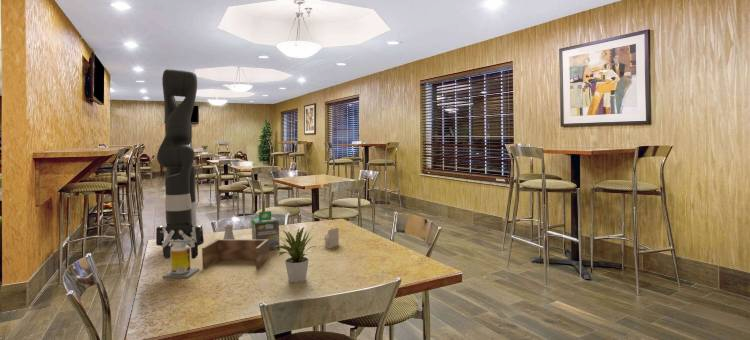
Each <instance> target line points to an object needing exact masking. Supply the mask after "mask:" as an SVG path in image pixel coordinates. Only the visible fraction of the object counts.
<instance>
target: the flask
mask: <svg viewBox="0 0 750 340" xmlns="http://www.w3.org/2000/svg"><path fill="white" fill-rule="evenodd" d="M233 226H234V225H233V224H225V225H223V228H224V235H223V239H222V240H236V237H235V234H234V231H233Z"/></svg>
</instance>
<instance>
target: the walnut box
mask: <svg viewBox="0 0 750 340" xmlns="http://www.w3.org/2000/svg"><path fill="white" fill-rule="evenodd" d="M201 257H202V258H201V259H202V270H204V269H205V270H206V269H208V268H209V267H211V266H212V265H213V264H214V263H216V262H217V261H219V260H255V269H256V270H259V269H261V268H262V267H263V266H264V265H265V264H266V263H267V262H268V261H269V260H270V251H269V240H252V239H235V240H223V239H215V240H214V241H212V242H210V243H208V244H207V245H205V246H203V247H202V248H201Z"/></svg>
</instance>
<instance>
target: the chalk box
mask: <svg viewBox="0 0 750 340" xmlns="http://www.w3.org/2000/svg"><path fill="white" fill-rule="evenodd" d="M264 215H267V216H266V217H263V216H264ZM250 224H251V237H252V239H251V240H269V252H270V251H277V250H278V249H280V250H281V248H280V247H274V246H277V245H280V239H279V238H280V230H279V229H280V220H279V219H278V218H275V217H274V216H272V211H271V210H267V211H259V213H258V218H251V221H250ZM278 236H279V237H278Z"/></svg>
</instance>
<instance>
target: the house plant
mask: <svg viewBox="0 0 750 340" xmlns="http://www.w3.org/2000/svg"><path fill="white" fill-rule="evenodd" d="M305 228H306V227H305V226H303V227H301V229H300V228H298V229H297V231H296V235H295V238H294V236H293V235H292V233H290V231H287V232H286V230H284V229H280V228H279V231H282V232H283V233H284V234H285V236H286V238H285V237H281V236H280V235H279V236H278V237H279V240H282V241H285V242H287V243H281V244H282V245H280V244H279V245H277V246H274V247H280V249H278V250H279V252H277V253H276V255H278V257H280V256H281V255H283V254H287V255H288V257H287V258H285V260H284V263H285V268H286V273H287V277H288V282H291V283H303V282H305V281H306V280H307V273H308V264H309V258H308V257H307V255H308V254H307V253H306V252H307V250H309V249H311V248H314V247H315V248H316V247H317V245H312V246H310V247H308V248H307V249H306V248H305V247H306V246H307V244H308V243H309V242H310V241H311V239H312V238H313V237H314V235H313V236H311V237H309V236H310V233H311V232H310V231H309V232H308V230H307V229H306V230H305ZM304 230H305V232H304ZM307 232H308V233H307ZM303 234H304V235H303ZM302 236H303V237H302ZM308 238H309V239H308ZM281 249H283V250H285V251H283V250H281ZM305 249H306V250H305ZM280 250H281V251H280Z"/></svg>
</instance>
